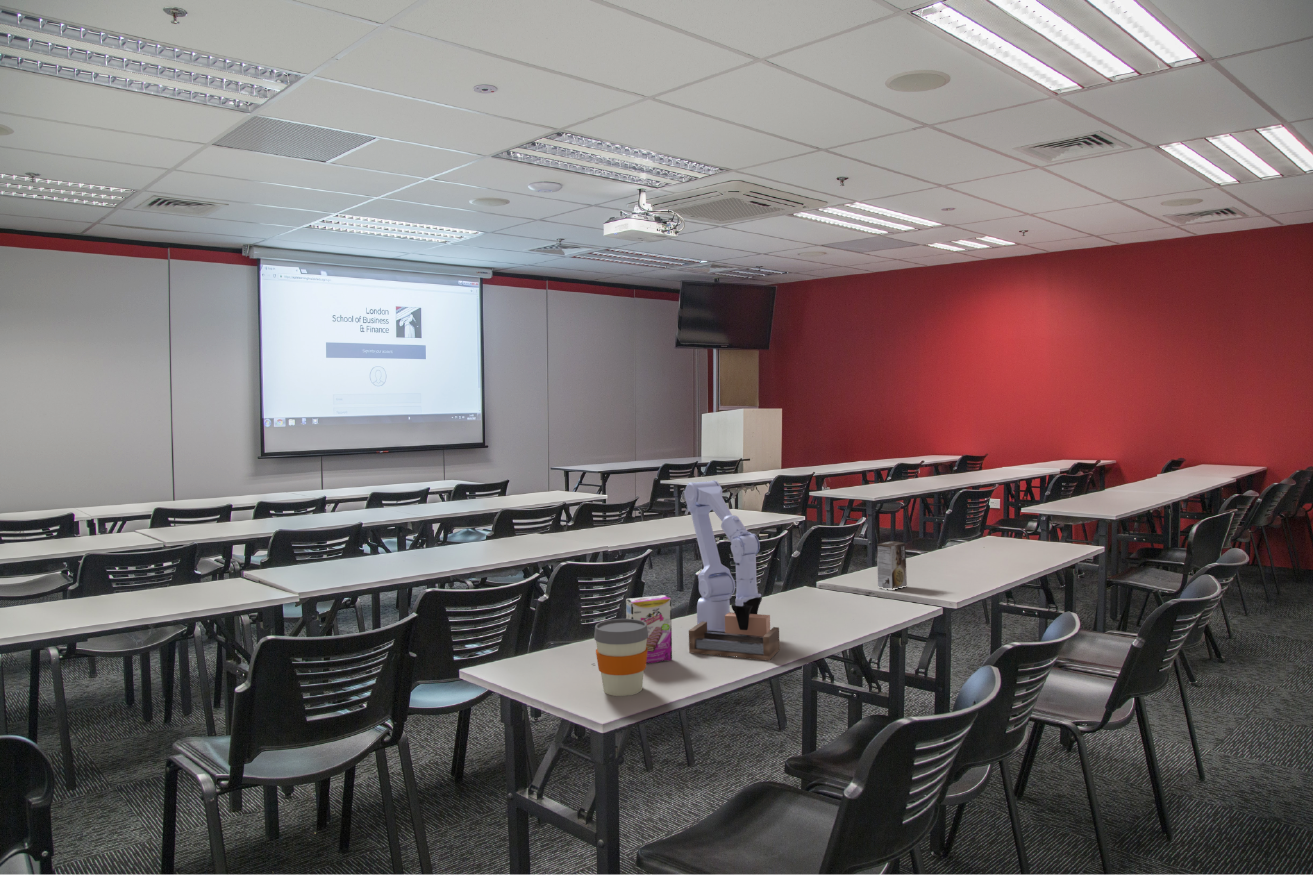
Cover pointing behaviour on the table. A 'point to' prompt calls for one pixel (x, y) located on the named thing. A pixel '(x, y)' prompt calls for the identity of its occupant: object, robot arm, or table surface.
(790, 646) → the table surface
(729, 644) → the track base
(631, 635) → the reusable coffee cup
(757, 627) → the salmon orange block
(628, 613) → the candy bar box
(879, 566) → the coffee box
